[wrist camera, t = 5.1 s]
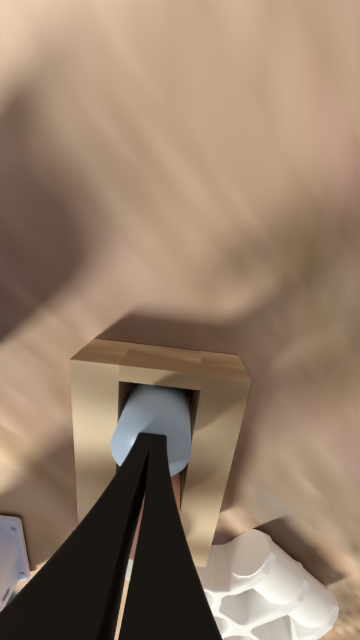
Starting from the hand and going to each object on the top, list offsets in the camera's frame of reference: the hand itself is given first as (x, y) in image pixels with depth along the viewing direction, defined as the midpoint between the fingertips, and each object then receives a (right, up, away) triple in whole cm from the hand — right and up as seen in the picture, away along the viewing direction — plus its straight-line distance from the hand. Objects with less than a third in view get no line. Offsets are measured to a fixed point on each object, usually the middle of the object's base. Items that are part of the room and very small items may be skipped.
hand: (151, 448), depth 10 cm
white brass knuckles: (+8, -21, +12) cm, 25 cm away
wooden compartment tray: (0, -4, +6) cm, 7 cm away
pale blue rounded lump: (0, +1, +3) cm, 3 cm away
